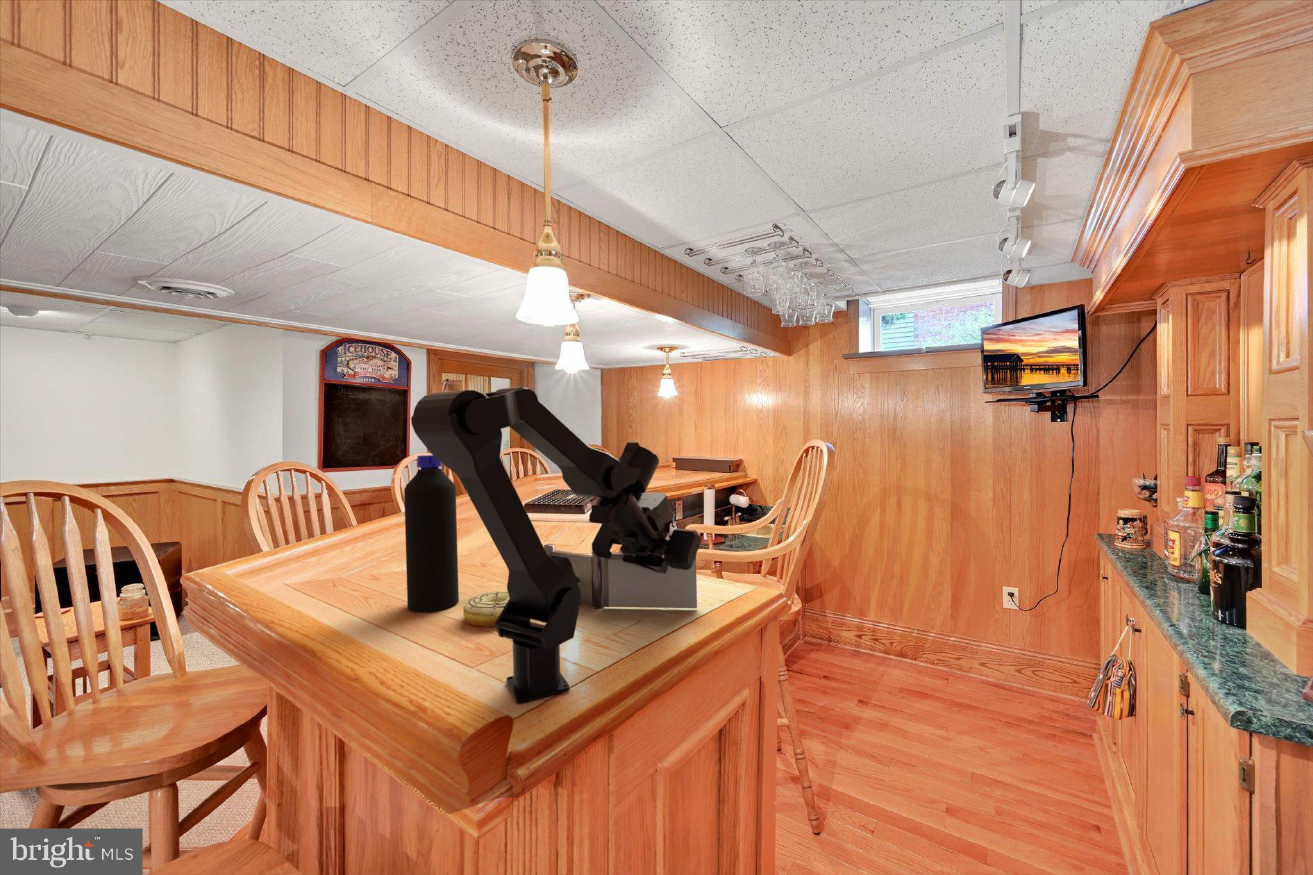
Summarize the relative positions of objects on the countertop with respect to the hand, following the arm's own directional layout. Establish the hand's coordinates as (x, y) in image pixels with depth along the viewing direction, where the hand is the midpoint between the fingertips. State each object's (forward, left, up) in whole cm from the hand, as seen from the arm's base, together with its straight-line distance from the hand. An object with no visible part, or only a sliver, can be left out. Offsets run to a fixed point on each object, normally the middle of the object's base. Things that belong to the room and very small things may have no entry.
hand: (663, 570), depth 91 cm
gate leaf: (+2, +2, -7) cm, 7 cm away
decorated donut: (+12, +26, -8) cm, 30 cm away
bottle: (+25, +35, -7) cm, 44 cm away
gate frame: (+14, +12, -7) cm, 19 cm away
